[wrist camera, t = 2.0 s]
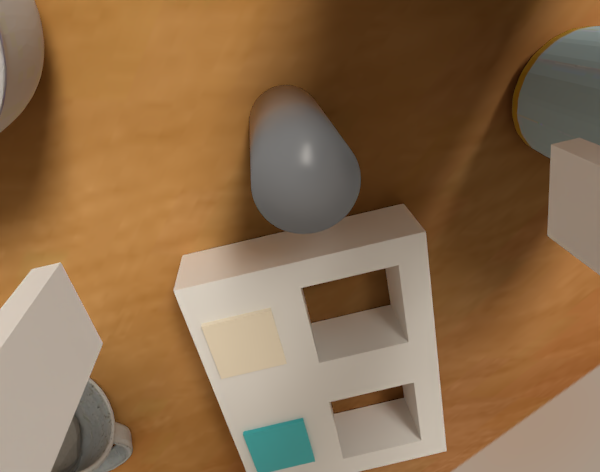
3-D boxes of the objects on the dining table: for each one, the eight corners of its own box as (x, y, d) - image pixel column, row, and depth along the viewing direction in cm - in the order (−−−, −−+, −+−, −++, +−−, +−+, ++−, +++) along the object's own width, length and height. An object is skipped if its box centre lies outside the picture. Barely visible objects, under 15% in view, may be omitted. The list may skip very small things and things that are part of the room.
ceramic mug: (-37, 411, 32) (-110, 521, 26) (33, 341, 30) (-27, 440, 24) (94, 473, 37) (61, 581, 30) (162, 415, 35) (143, 517, 28)
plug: (313, 77, 25) (351, 117, 16) (327, 148, 27) (367, 220, 18) (241, 94, 25) (238, 144, 16) (259, 164, 27) (265, 244, 18)
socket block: (403, 203, 29) (427, 233, 25) (427, 408, 37) (448, 454, 33) (182, 255, 29) (172, 294, 25) (255, 448, 37) (256, 499, 33)
